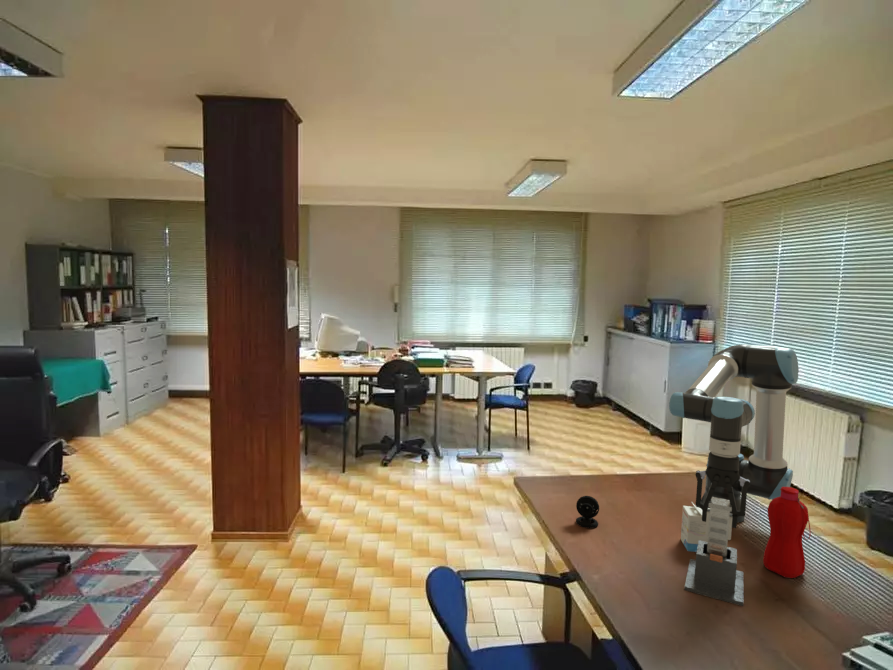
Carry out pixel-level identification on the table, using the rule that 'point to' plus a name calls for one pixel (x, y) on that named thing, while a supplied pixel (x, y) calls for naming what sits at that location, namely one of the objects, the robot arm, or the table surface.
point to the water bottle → (786, 534)
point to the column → (718, 526)
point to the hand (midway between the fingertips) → (718, 535)
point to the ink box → (692, 527)
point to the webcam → (587, 511)
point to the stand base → (715, 575)
